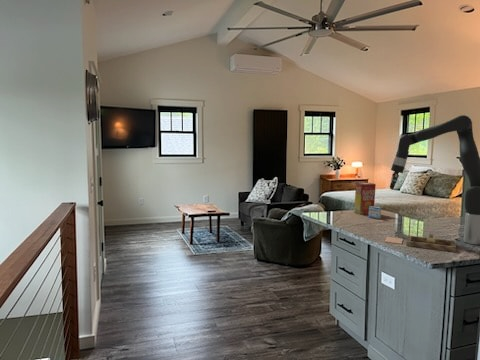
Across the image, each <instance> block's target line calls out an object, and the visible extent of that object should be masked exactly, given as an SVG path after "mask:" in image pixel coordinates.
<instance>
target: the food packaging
mask: <svg viewBox="0 0 480 360" xmlns="http://www.w3.org/2000/svg"><path fill="white" fill-rule="evenodd" d="M354 195H355V196H354V210H353V211H354V213H355V214H357V215H362V216H363V215H369V207H370V206H373V207H375V198H376V197H375V196H376V183H374V182H373V183H372V182H356V183H355V194H354Z"/></svg>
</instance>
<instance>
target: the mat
mask: <svg viewBox="0 0 480 360" xmlns="http://www.w3.org/2000/svg"><path fill="white" fill-rule="evenodd" d="M403 242H404V238H399V237H392V236H391V237H390V236H386V238H385V240H384V243H387V244H390V243H391V244H397V245H402V244H403Z"/></svg>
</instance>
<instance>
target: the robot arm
mask: <svg viewBox="0 0 480 360" xmlns="http://www.w3.org/2000/svg"><path fill="white" fill-rule="evenodd" d="M473 131H474V130H473V121H472V119H471V118H470V117H469V116H467V115H465V114H464V115H462V114H461V115H459V116H456V117H454V118H452V119H449V120H448V121H445V122H443V123H440V124H436V125H434V126H433V125H432V126H430V127H426V128H422V129H419V130H418V131H416V132H414V133H411V134H407V133H406V134H403V135H401V136H400V138H399V140H398V146H397V151H396V153H395V157H394V159H393V161H392V162H393V163H392V165H391V168H390V170H391V171H392V172H393V173H392V174H391V180H390V185H389V189H390V190H394V189H395V186H396V184H397V182H398V179H399V178H400V175H399V173H400V174H403V173H404V171H405V168H406V165H407V160H408V156H409V153H410V151H409V149H410V146H413V145H415V144H418V143H420V142H424V141H425V142H426V141H427V140H431V139H434V138H437V137H439V136H441V135H444V134H447V133H452V132H456V134H457V137H458V141H459V157H460V162H461V165H462V166H461V167H463V170H464V172H465V174H466V175H467V177H468V180H469V186H470V187H468V188H467V189H466V191H465V195H464V208H465V217H464V228H463V242H464V243H467V244H470V245H480V154H479V151H478V147H477V144H476V141H475V138H474V132H473Z"/></svg>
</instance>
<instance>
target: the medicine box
mask: <svg viewBox="0 0 480 360" xmlns="http://www.w3.org/2000/svg"><path fill="white" fill-rule="evenodd" d="M381 214H382V207H380V206H379V207H378V206H374V207H373V206H370V207H369V214H368V218H369V219H374V220H375V219H376V220H380V219H381V217H382V215H381Z"/></svg>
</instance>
